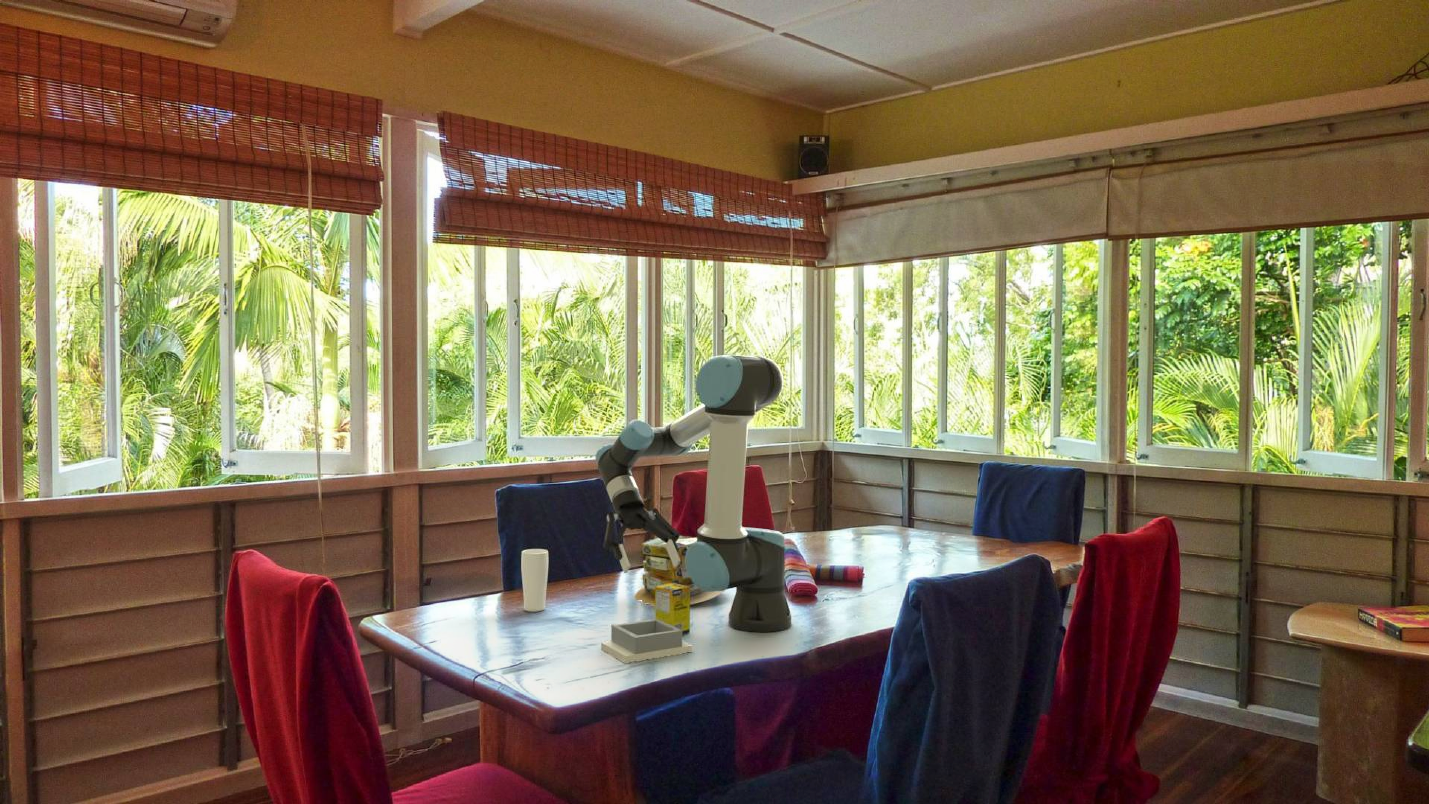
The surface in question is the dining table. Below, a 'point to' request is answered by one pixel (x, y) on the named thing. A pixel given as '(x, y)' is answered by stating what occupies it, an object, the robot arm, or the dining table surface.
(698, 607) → the dining table surface
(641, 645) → the box holder
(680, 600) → the supplement box
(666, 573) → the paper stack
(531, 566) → the drinking glass
